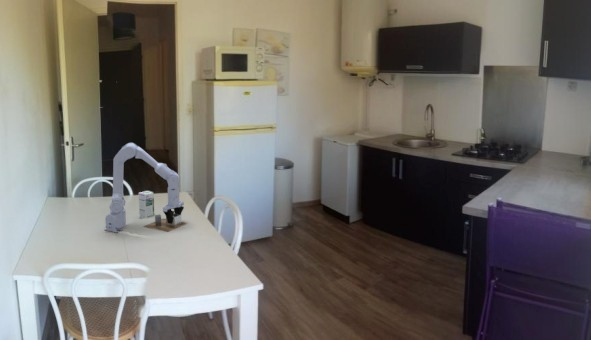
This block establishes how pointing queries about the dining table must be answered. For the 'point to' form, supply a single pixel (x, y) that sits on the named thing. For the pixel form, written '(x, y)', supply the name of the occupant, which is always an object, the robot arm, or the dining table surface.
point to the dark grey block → (157, 220)
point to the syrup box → (146, 204)
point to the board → (163, 226)
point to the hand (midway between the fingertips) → (173, 221)
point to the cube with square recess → (175, 220)
